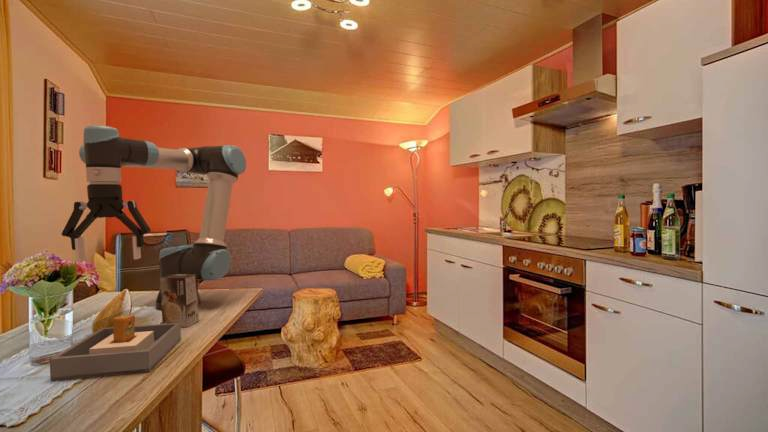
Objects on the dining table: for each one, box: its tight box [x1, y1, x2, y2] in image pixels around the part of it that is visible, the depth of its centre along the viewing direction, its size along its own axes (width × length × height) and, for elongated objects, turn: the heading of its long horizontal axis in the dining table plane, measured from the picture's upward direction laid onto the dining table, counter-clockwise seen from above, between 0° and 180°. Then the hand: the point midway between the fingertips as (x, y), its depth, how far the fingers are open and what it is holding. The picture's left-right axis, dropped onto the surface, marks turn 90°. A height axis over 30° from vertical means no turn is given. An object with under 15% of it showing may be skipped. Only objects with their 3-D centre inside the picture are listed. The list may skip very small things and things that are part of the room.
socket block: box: [89, 331, 154, 354], centre depth 91 cm, size 10×10×4 cm
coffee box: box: [159, 274, 200, 328], centre depth 116 cm, size 9×6×16 cm
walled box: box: [49, 323, 182, 382], centre depth 91 cm, size 20×20×5 cm
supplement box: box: [113, 313, 136, 343], centre depth 91 cm, size 3×4×10 cm
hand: (109, 260), depth 98 cm, fingers open, 13 cm apart
